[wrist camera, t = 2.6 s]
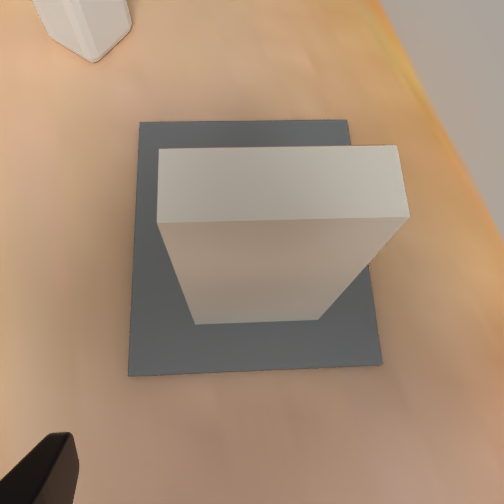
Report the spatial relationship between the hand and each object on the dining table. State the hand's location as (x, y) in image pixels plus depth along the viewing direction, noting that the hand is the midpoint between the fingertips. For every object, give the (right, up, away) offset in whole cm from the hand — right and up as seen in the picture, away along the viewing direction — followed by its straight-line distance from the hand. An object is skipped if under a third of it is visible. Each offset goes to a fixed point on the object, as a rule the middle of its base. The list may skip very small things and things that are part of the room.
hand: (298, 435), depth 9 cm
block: (-1, +1, +13) cm, 13 cm away
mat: (-1, +5, +15) cm, 15 cm away
